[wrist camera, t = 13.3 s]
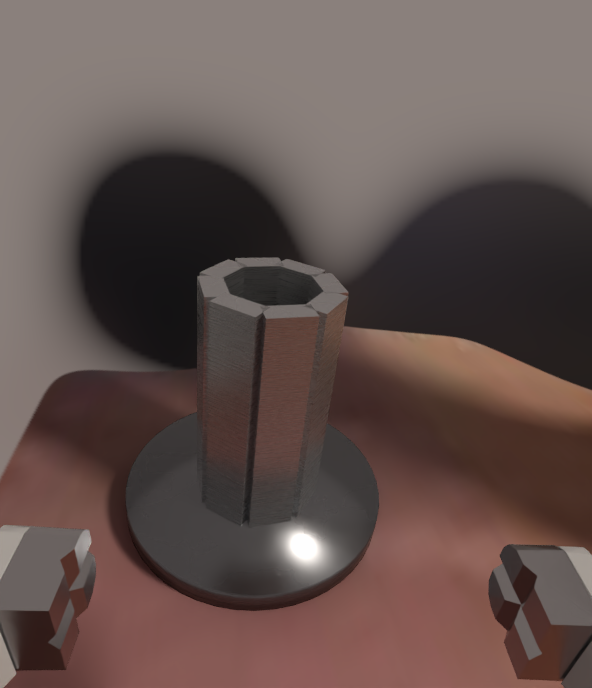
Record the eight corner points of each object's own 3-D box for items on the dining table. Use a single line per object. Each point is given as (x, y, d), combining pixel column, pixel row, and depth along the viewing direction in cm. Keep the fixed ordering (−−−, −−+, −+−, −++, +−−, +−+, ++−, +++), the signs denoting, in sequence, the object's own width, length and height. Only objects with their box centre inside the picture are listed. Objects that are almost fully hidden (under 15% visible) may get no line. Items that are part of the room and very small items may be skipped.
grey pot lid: (271, 394, 38) (277, 333, 35) (424, 513, 29) (447, 445, 26) (84, 474, 29) (73, 401, 26) (223, 677, 20) (227, 600, 18)
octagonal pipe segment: (294, 435, 32) (317, 257, 26) (328, 514, 27) (367, 314, 21) (192, 448, 30) (192, 258, 24) (207, 535, 25) (211, 321, 19)
